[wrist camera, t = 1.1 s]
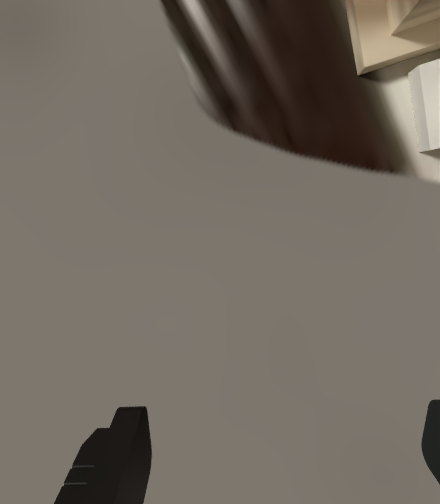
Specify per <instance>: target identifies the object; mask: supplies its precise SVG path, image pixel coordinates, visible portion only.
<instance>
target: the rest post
mask: <svg viewBox="0 0 440 504" xmlns="http://www.w3.org/2000/svg"><path fill="white" fill-rule="evenodd" d="M408 80H409V87H410V94H411V100H412V107H413V114H414V121H415V128H416V135H417V141H418V148H419V152H423V151H430V150H434V149H438V148H440V59H437V60H434V61H431V62H427V63H424V64H421V65H419V66H417V67H416V68H415V69H413V70H412V71H411V72H409V73H408Z"/></svg>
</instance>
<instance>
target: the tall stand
mask: <svg viewBox="0 0 440 504" xmlns="http://www.w3.org/2000/svg"><path fill="white" fill-rule="evenodd" d="M345 5H346V11H347V17H348V22H349V28H350V34H351V40H352V45H353V51H354V57H355V63H356V68H357V74H358V75H361V74H364V73H367V72H370V71H373V70H377V69H380V68H383V67H386V66H389V65H392V64H395V63H398V62H401V61H404V60H407V59H410V58H413V57H416V56H420V55H423V54H426V53H429V52H432V51H435V50H438V49H440V0H345Z"/></svg>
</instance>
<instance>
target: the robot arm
mask: <svg viewBox="0 0 440 504" xmlns="http://www.w3.org/2000/svg"><path fill="white" fill-rule="evenodd" d="M149 431H150V430H149V422H148V413H147V408H146V407H145V406H140V407H139V406H138V407H119V408H118V409H117V411H116V413H115V416H114V418H113V420H112V423H111V425H110V428H97V429H96V430H95V431H94V432H93V434H92V435H91V436H90V437H89V438H88V439H87V440H86V441H85V442H84V444H82V446H81V448H80V450H79V452H78V454H77V457H76V459H75V461H74V463H73V466H72V469H70V471H69V473H68V475H67V477H66V480H65V481H64V486H62V488H61V490H60V492H59V494H58V496H57V498H56V501H55V502H54V504H143V502H144V498H145V493H146V489H147V484H148V479H149V475H150V469H151V458H152V450H151V439H150V432H149ZM422 452H423V456H424V459H425V461H426V463H427V466H428V467H429V469H430V470H431V472H432V473H433V475H434V476H435V478H436V479H437V481H438V482H439V484H440V400H432V401H431V402H430V403H429V406H428V411H427V416H426V421H425V427H424V432H423V437H422Z"/></svg>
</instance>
